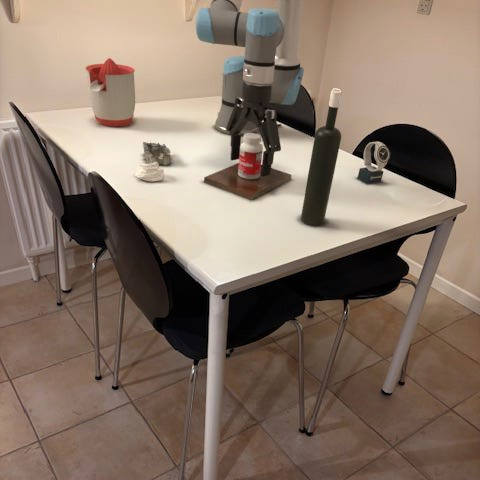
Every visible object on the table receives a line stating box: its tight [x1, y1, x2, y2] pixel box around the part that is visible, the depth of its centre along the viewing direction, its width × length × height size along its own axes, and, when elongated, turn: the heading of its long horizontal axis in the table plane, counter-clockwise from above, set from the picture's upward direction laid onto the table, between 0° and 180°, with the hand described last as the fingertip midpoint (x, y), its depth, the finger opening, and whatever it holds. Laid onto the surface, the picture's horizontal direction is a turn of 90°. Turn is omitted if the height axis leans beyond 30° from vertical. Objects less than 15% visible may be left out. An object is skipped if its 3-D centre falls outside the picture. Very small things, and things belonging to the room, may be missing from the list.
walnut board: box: [203, 162, 292, 201], centre depth 134 cm, size 20×16×2 cm
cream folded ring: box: [134, 162, 165, 183], centre depth 129 cm, size 8×7×5 cm
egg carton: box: [142, 141, 172, 166], centre depth 141 cm, size 11×8×4 cm
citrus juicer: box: [85, 57, 136, 128], centre depth 160 cm, size 16×17×20 cm
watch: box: [356, 141, 391, 185], centre depth 139 cm, size 6×8×11 cm
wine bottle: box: [300, 87, 343, 227], centre depth 108 cm, size 6×6×30 cm
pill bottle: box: [238, 132, 264, 180], centre depth 130 cm, size 6×6×11 cm
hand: (249, 167), depth 132 cm, fingers open, 12 cm apart
